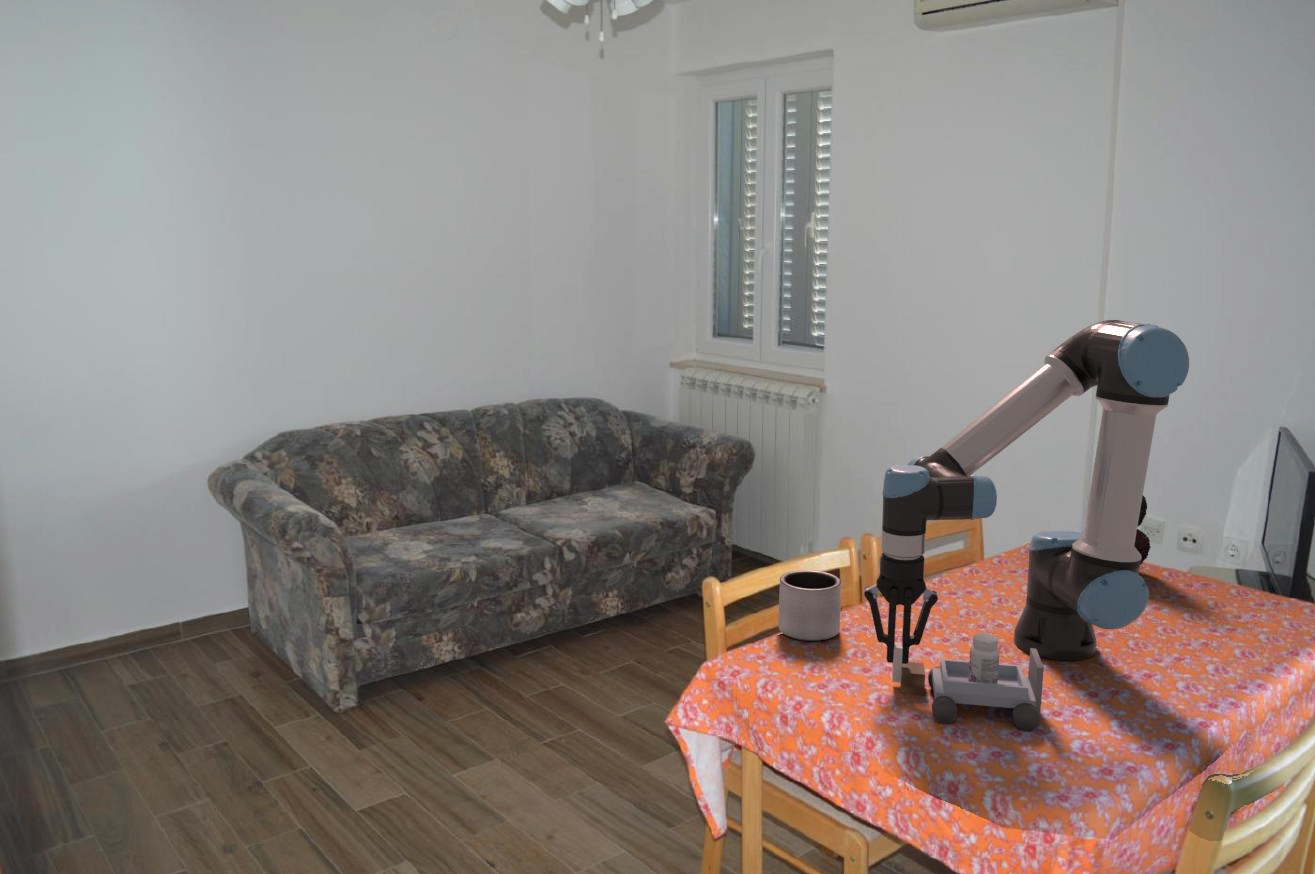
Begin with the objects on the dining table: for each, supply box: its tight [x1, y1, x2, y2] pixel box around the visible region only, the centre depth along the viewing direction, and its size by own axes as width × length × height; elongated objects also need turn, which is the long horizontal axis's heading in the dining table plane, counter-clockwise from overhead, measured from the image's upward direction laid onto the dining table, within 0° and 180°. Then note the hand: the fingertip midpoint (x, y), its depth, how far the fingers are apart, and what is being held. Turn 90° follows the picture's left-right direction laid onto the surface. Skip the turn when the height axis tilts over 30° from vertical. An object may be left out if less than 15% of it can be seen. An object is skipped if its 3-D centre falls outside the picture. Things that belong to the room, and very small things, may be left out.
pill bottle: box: [968, 632, 1000, 684], centre depth 173 cm, size 5×5×8 cm
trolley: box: [927, 648, 1045, 732], centre depth 174 cm, size 18×14×10 cm
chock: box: [899, 661, 926, 696], centre depth 182 cm, size 4×5×4 cm
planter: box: [777, 569, 842, 642], centre depth 208 cm, size 13×12×11 cm
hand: (896, 678), depth 183 cm, fingers closed
